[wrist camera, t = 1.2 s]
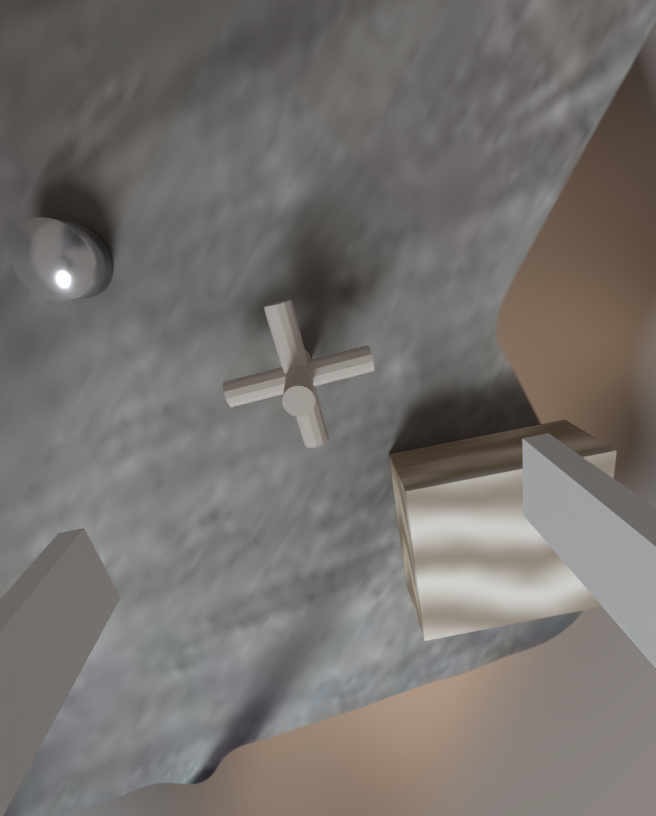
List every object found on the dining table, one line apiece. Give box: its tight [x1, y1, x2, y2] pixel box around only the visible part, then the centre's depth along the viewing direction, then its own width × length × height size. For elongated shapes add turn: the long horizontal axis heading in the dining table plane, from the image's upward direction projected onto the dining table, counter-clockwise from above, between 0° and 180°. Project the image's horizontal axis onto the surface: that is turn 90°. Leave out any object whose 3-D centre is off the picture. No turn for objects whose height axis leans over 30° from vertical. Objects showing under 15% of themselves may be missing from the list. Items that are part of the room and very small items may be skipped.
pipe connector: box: [223, 299, 374, 448], centre depth 26 cm, size 10×10×10 cm
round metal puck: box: [9, 217, 113, 301], centre depth 26 cm, size 5×5×3 cm
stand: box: [389, 420, 616, 641], centre depth 34 cm, size 16×16×6 cm
